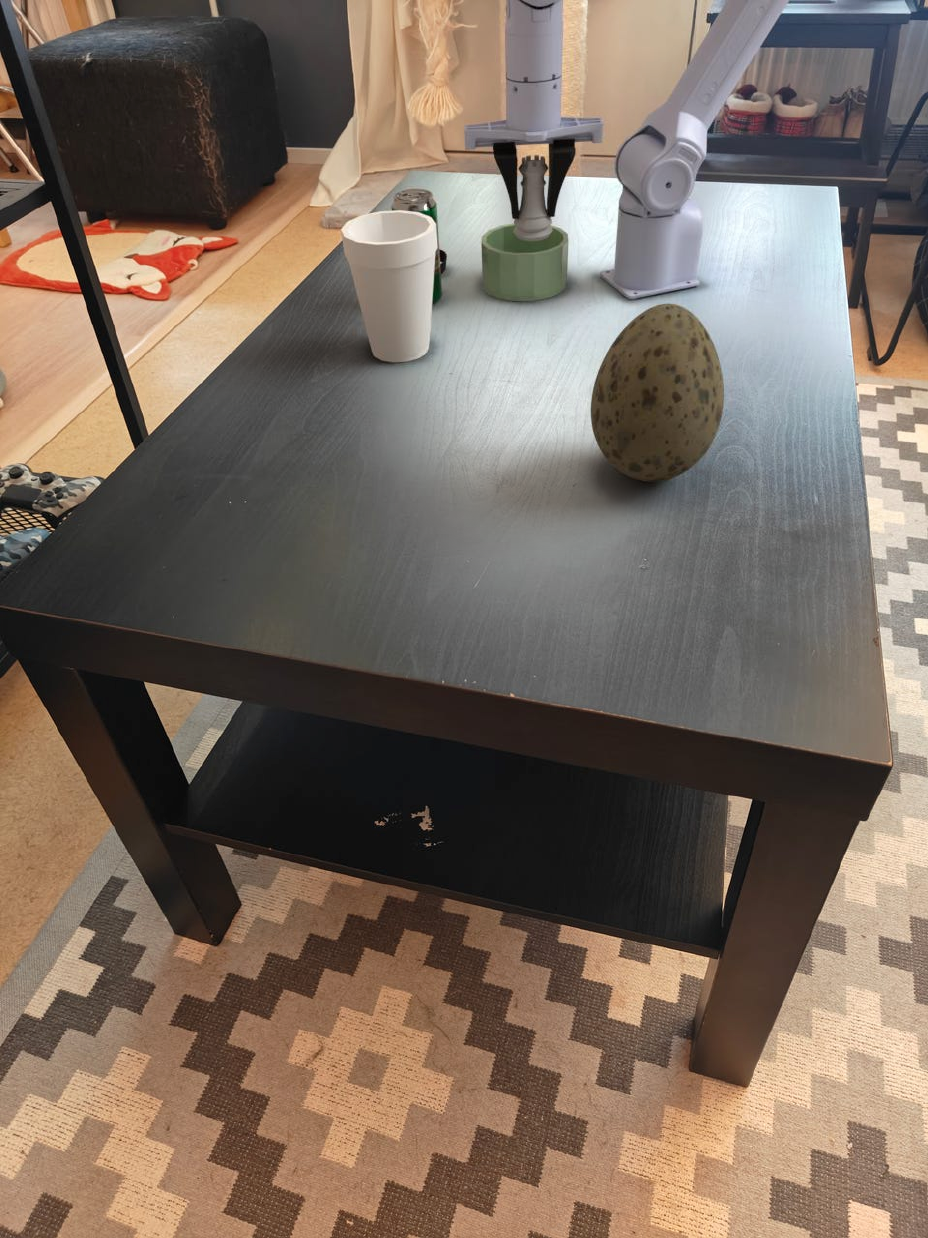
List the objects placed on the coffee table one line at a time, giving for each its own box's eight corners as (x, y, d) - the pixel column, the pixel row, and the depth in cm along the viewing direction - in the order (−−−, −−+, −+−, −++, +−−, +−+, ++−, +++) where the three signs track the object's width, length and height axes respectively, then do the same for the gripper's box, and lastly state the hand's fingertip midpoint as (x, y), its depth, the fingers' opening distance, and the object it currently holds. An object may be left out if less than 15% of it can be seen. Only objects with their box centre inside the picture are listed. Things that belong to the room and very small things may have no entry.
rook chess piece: (541, 244, 99) (542, 167, 94) (506, 238, 101) (505, 161, 96) (559, 230, 102) (561, 154, 97) (524, 225, 104) (525, 150, 98)
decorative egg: (732, 462, 79) (764, 297, 69) (673, 523, 73) (698, 351, 63) (626, 427, 84) (641, 268, 74) (563, 481, 78) (569, 316, 68)
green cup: (545, 261, 114) (546, 217, 110) (580, 291, 107) (582, 245, 103) (470, 276, 112) (469, 230, 108) (501, 307, 105) (500, 260, 101)
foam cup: (377, 377, 94) (362, 251, 85) (344, 343, 100) (327, 222, 91) (458, 354, 96) (451, 230, 88) (421, 322, 103) (411, 204, 94)
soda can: (437, 310, 105) (430, 203, 97) (395, 308, 106) (385, 201, 98) (446, 292, 108) (440, 187, 100) (405, 290, 109) (396, 186, 101)
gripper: (463, 89, 88) (468, 230, 97) (610, 81, 88) (602, 224, 97) (461, 72, 93) (467, 208, 102) (601, 64, 93) (594, 201, 102)
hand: (532, 214), depth 100 cm, fingers closed on rook chess piece, 3 cm apart
